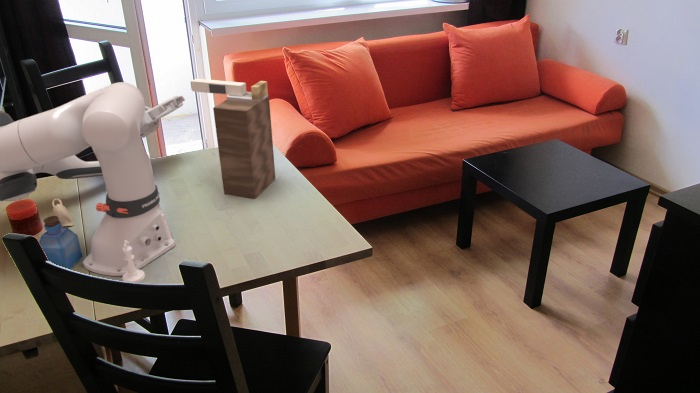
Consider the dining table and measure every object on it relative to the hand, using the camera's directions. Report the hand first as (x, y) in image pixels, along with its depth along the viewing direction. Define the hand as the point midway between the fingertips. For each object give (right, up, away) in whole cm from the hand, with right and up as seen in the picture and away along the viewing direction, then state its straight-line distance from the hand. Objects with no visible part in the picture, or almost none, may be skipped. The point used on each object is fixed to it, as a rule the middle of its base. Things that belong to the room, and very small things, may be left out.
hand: (173, 102), depth 170 cm
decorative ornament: (-24, -35, -17) cm, 46 cm away
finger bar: (+15, +2, -7) cm, 17 cm away
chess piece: (+3, -47, -40) cm, 62 cm away
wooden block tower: (+23, -25, 0) cm, 34 cm away
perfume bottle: (-15, -44, -35) cm, 58 cm away
